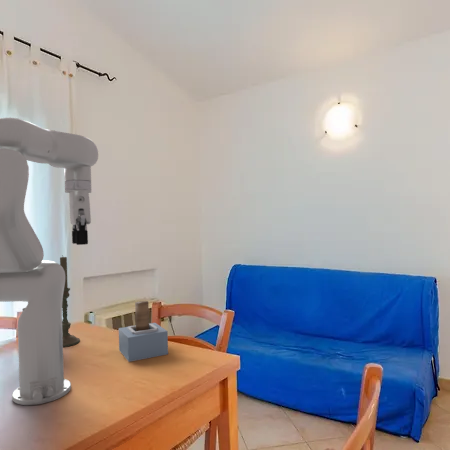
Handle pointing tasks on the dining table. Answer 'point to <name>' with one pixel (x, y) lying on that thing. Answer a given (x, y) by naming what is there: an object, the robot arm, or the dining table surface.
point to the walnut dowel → (142, 315)
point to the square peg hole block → (143, 342)
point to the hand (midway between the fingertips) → (79, 243)
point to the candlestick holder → (67, 338)
